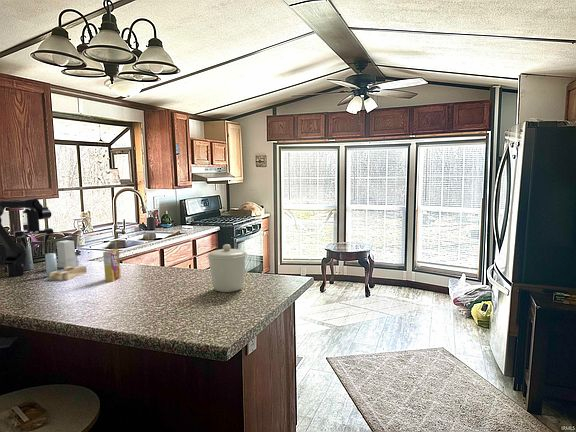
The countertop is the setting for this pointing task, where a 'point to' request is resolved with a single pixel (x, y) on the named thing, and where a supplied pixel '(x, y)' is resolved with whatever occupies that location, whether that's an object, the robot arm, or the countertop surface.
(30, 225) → the robot arm
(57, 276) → the oak stand
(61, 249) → the skincare box
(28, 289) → the countertop surface
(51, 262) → the slate jar
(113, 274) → the candy box
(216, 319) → the countertop surface
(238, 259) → the canister
